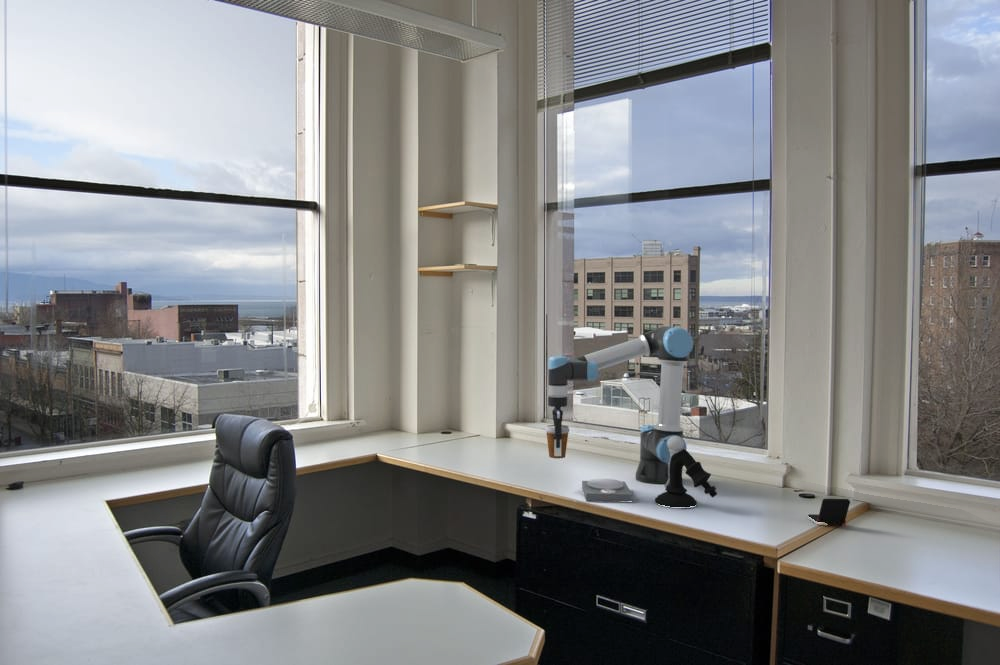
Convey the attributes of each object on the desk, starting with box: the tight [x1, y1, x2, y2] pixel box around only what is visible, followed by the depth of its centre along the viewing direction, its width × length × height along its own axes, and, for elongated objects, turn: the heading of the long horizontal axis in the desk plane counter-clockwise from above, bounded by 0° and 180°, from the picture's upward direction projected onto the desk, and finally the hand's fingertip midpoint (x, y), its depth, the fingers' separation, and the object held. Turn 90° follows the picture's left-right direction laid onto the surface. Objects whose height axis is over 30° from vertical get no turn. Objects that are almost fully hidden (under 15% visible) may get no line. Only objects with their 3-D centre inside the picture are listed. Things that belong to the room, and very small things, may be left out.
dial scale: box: [581, 478, 633, 502], centre depth 289 cm, size 17×20×4 cm
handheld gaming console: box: [807, 498, 851, 527], centre depth 255 cm, size 9×12×10 cm
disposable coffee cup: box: [544, 424, 570, 459], centre depth 294 cm, size 10×10×12 cm
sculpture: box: [654, 436, 719, 507], centre depth 275 cm, size 15×24×25 cm, turn 48°
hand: (557, 453), depth 294 cm, fingers closed on disposable coffee cup, 8 cm apart
